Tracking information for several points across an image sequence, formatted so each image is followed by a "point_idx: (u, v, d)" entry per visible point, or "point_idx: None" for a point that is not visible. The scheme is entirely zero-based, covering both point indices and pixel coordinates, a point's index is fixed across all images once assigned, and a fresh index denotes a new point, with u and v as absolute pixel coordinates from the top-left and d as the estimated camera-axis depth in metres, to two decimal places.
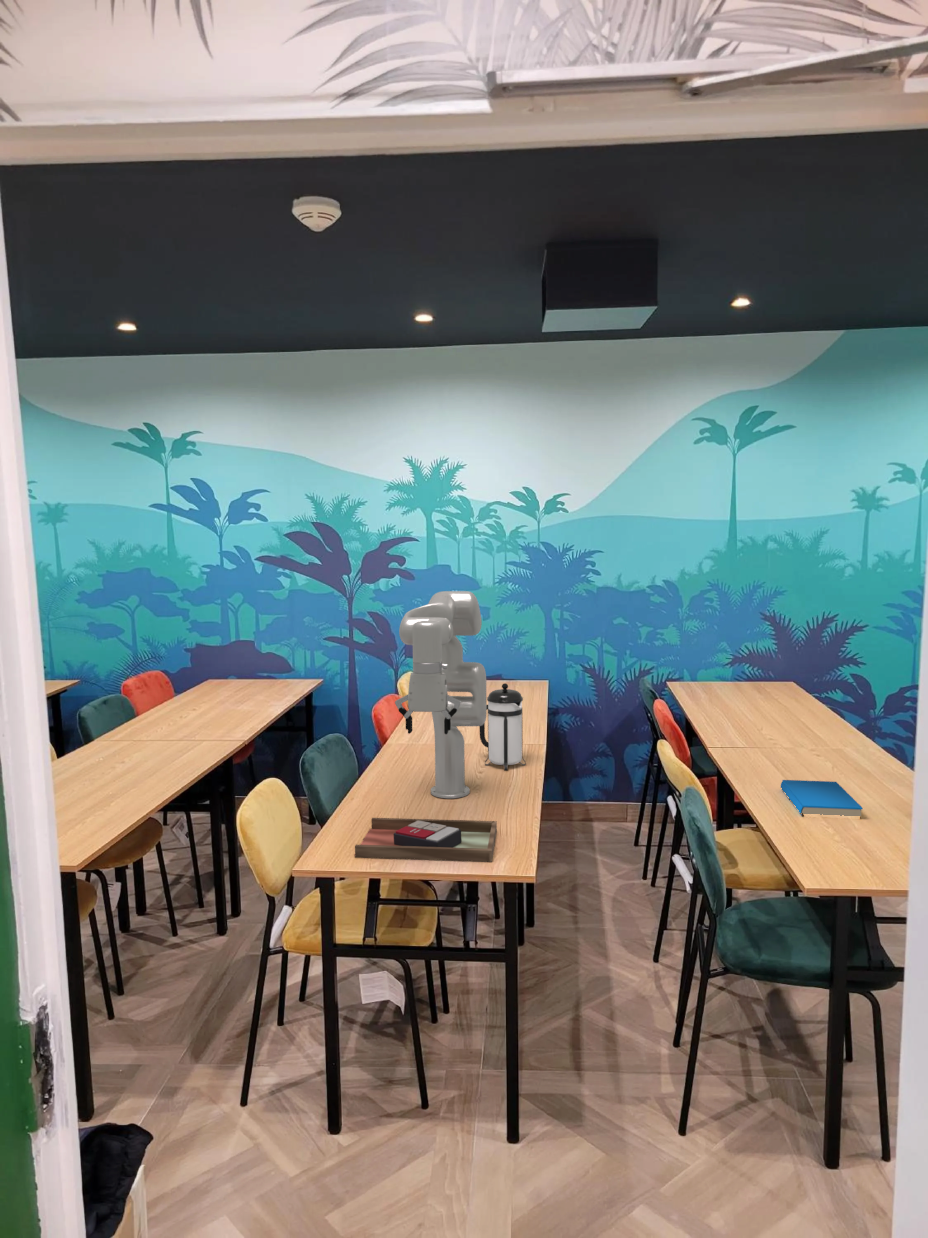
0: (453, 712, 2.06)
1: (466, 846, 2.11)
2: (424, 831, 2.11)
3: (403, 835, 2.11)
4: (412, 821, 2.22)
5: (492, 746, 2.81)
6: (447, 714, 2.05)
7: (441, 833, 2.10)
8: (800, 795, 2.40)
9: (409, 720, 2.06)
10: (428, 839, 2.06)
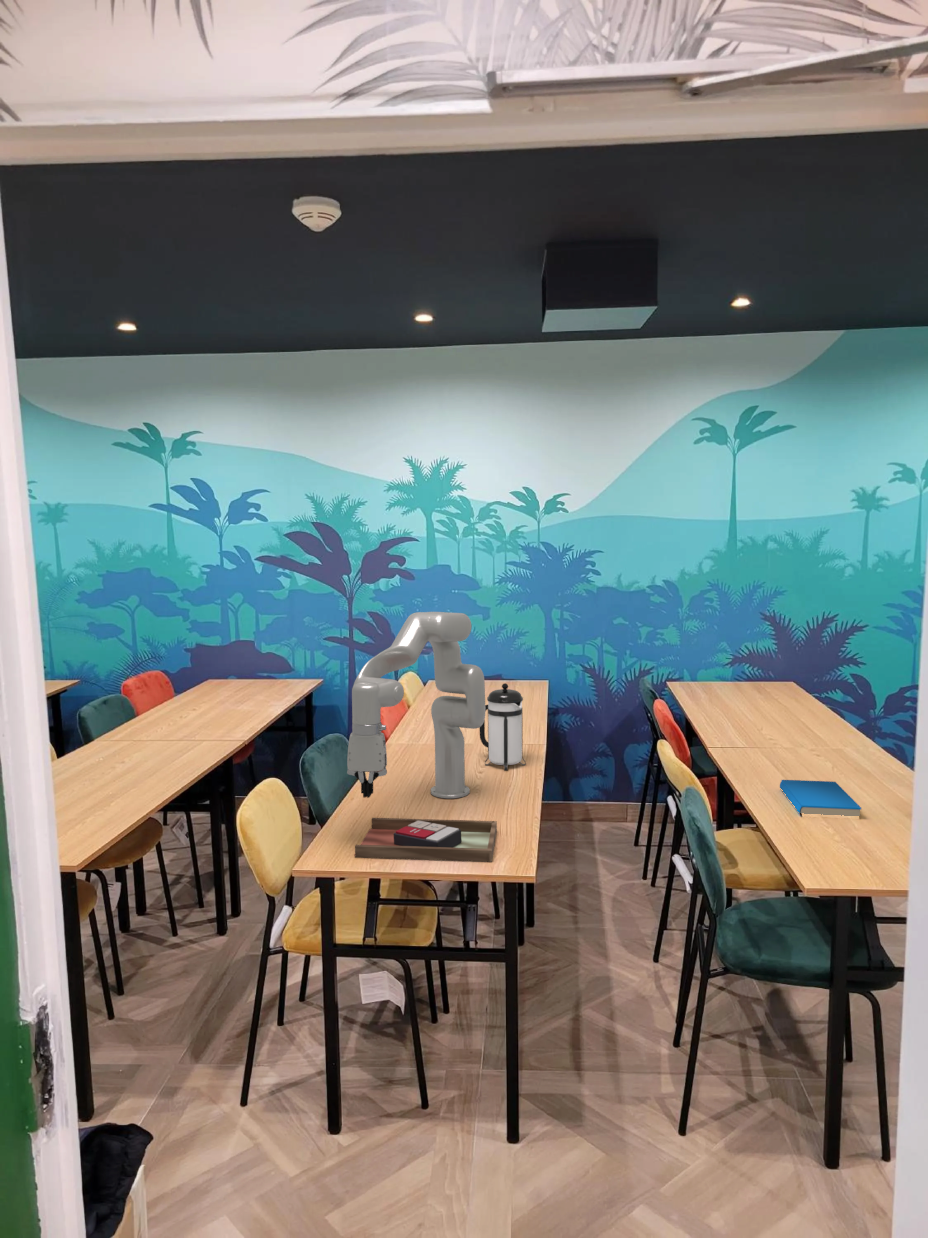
0: (375, 776, 2.11)
1: (466, 846, 2.11)
2: (424, 831, 2.11)
3: (403, 835, 2.11)
4: (412, 821, 2.22)
5: (492, 746, 2.81)
6: (371, 778, 2.11)
7: (441, 833, 2.10)
8: (799, 795, 2.40)
9: (364, 784, 2.11)
10: (428, 839, 2.06)
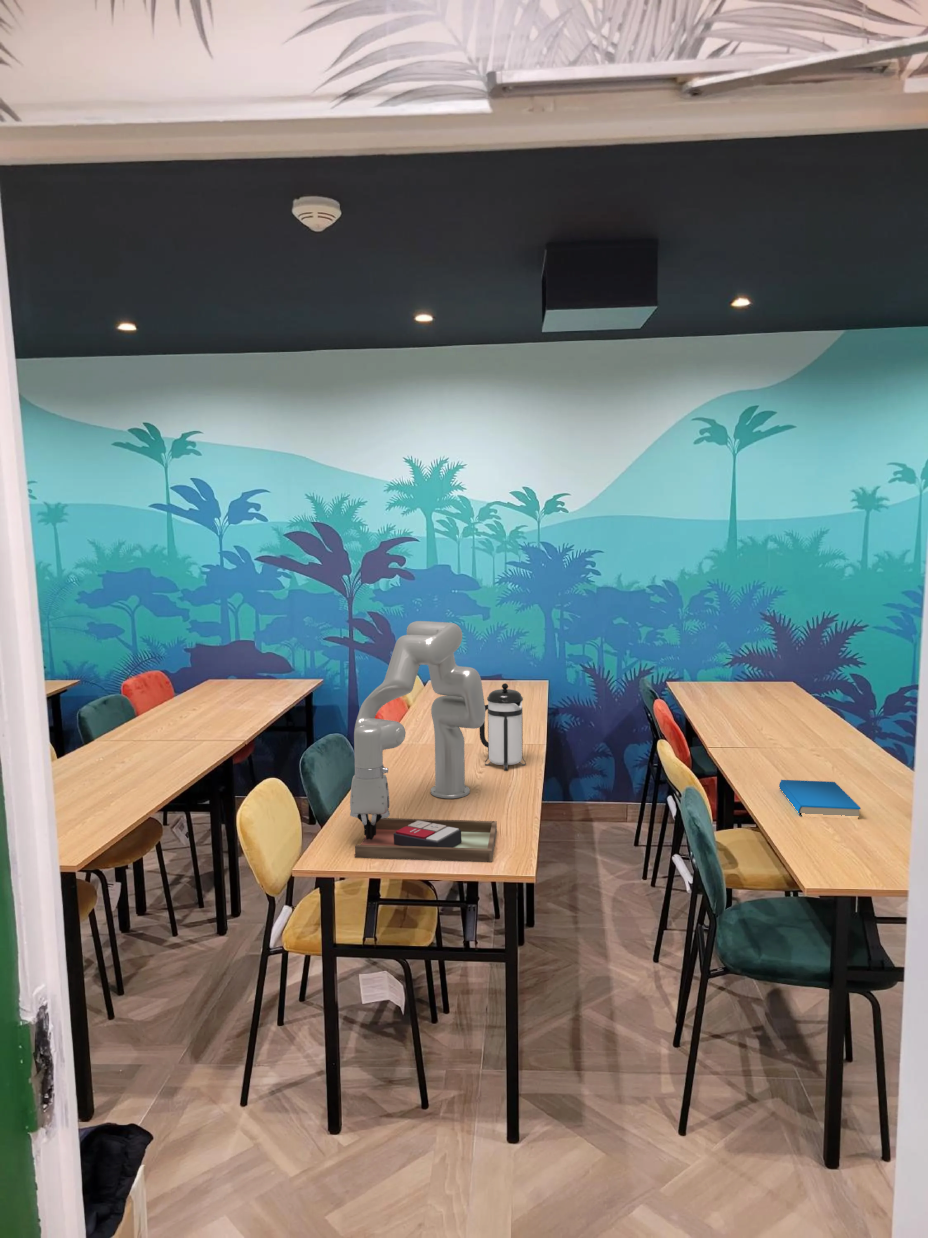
0: (378, 818, 2.13)
1: (466, 846, 2.11)
2: (424, 831, 2.11)
3: (403, 835, 2.11)
4: (412, 821, 2.22)
5: (492, 746, 2.81)
6: (374, 821, 2.12)
7: (441, 833, 2.10)
8: (798, 795, 2.40)
9: (367, 827, 2.13)
10: (428, 839, 2.06)
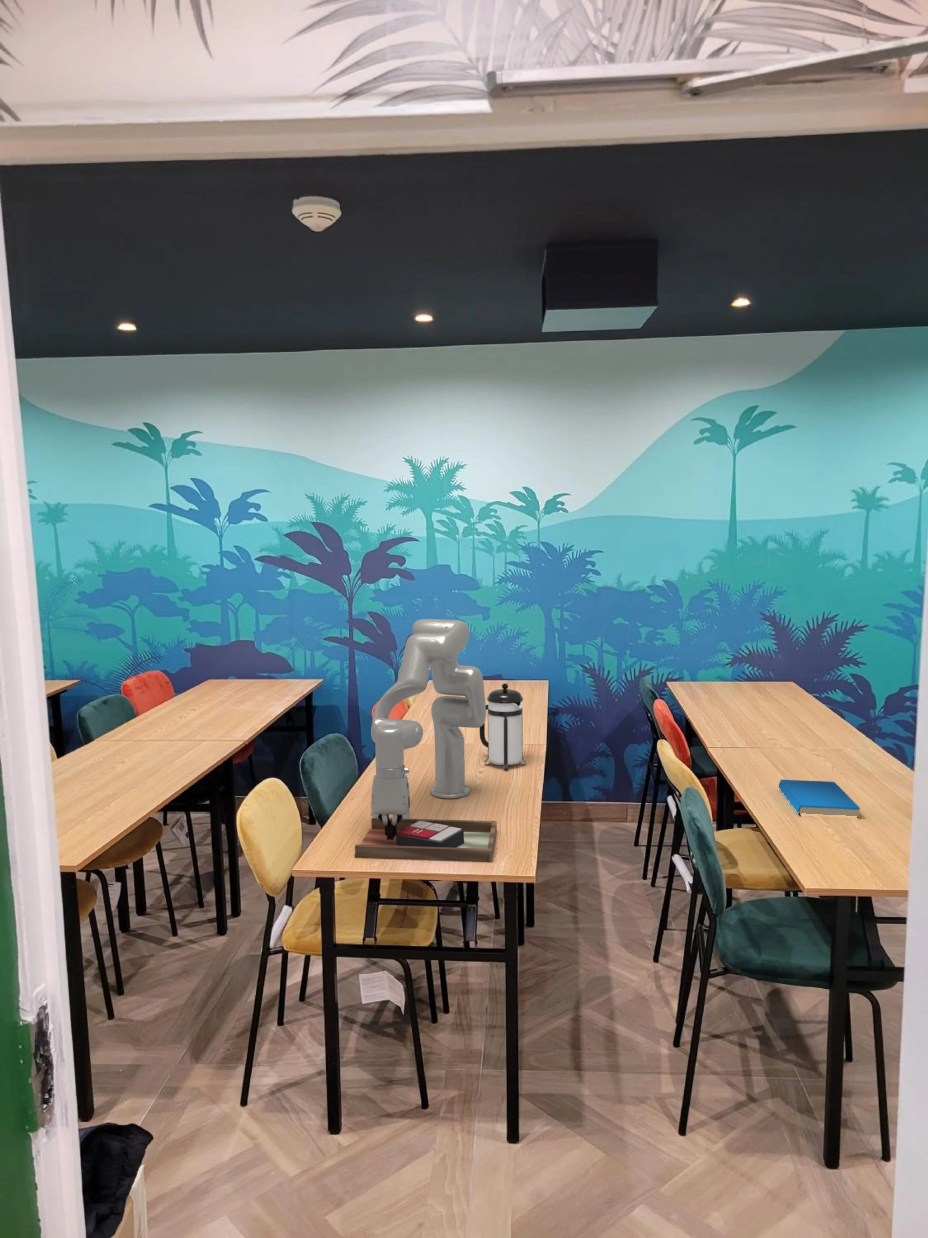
0: (399, 819, 2.12)
1: (466, 846, 2.11)
2: (426, 831, 2.11)
3: (406, 835, 2.10)
4: (412, 821, 2.22)
5: (492, 746, 2.81)
6: (395, 821, 2.12)
7: (444, 833, 2.09)
8: (798, 795, 2.40)
9: (388, 827, 2.12)
10: (431, 839, 2.06)
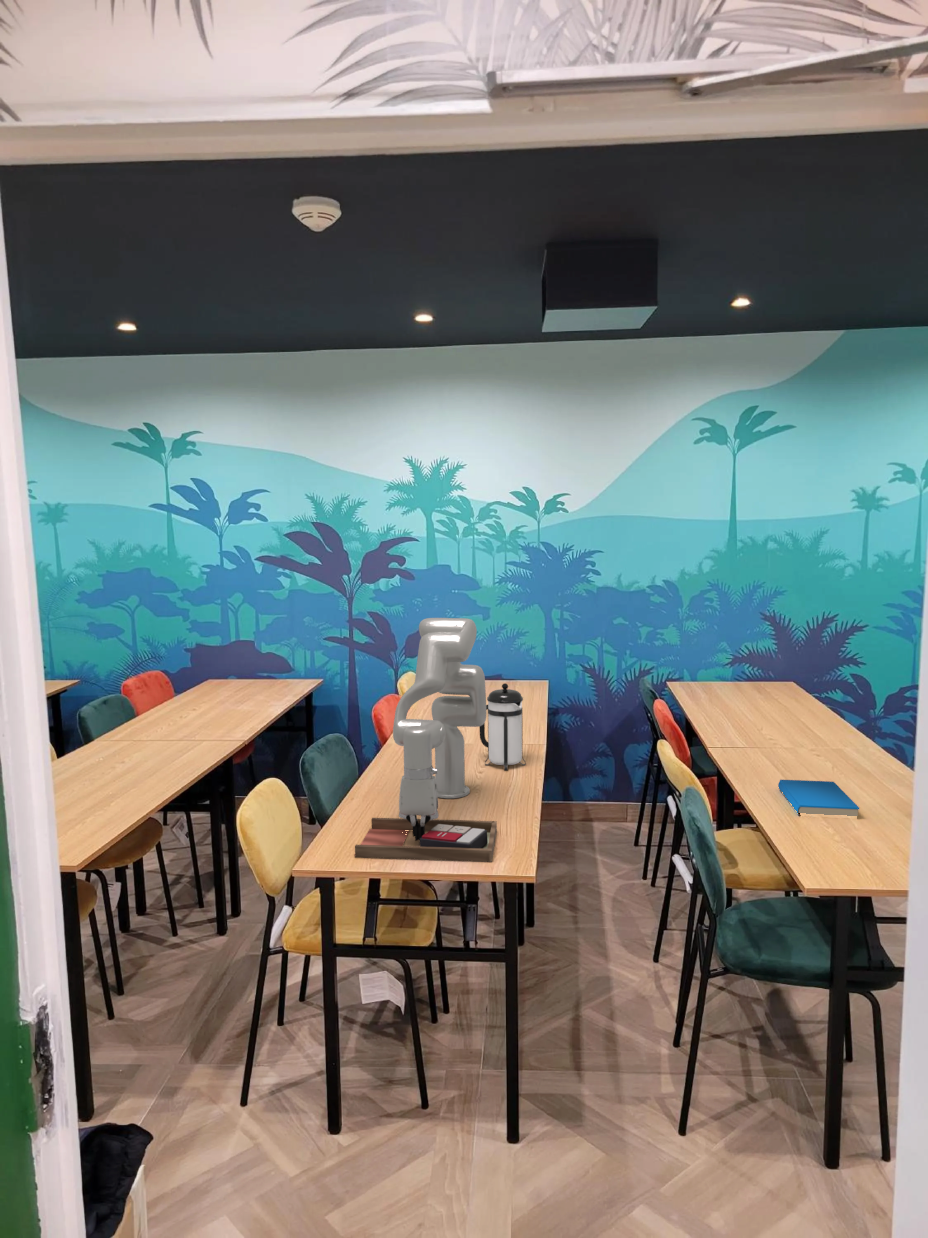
0: (427, 820, 2.11)
1: None
2: (451, 834, 2.09)
3: (431, 839, 2.07)
4: None
5: (492, 746, 2.81)
6: (423, 822, 2.11)
7: (469, 835, 2.08)
8: (797, 795, 2.40)
9: (416, 828, 2.11)
10: (459, 842, 2.04)
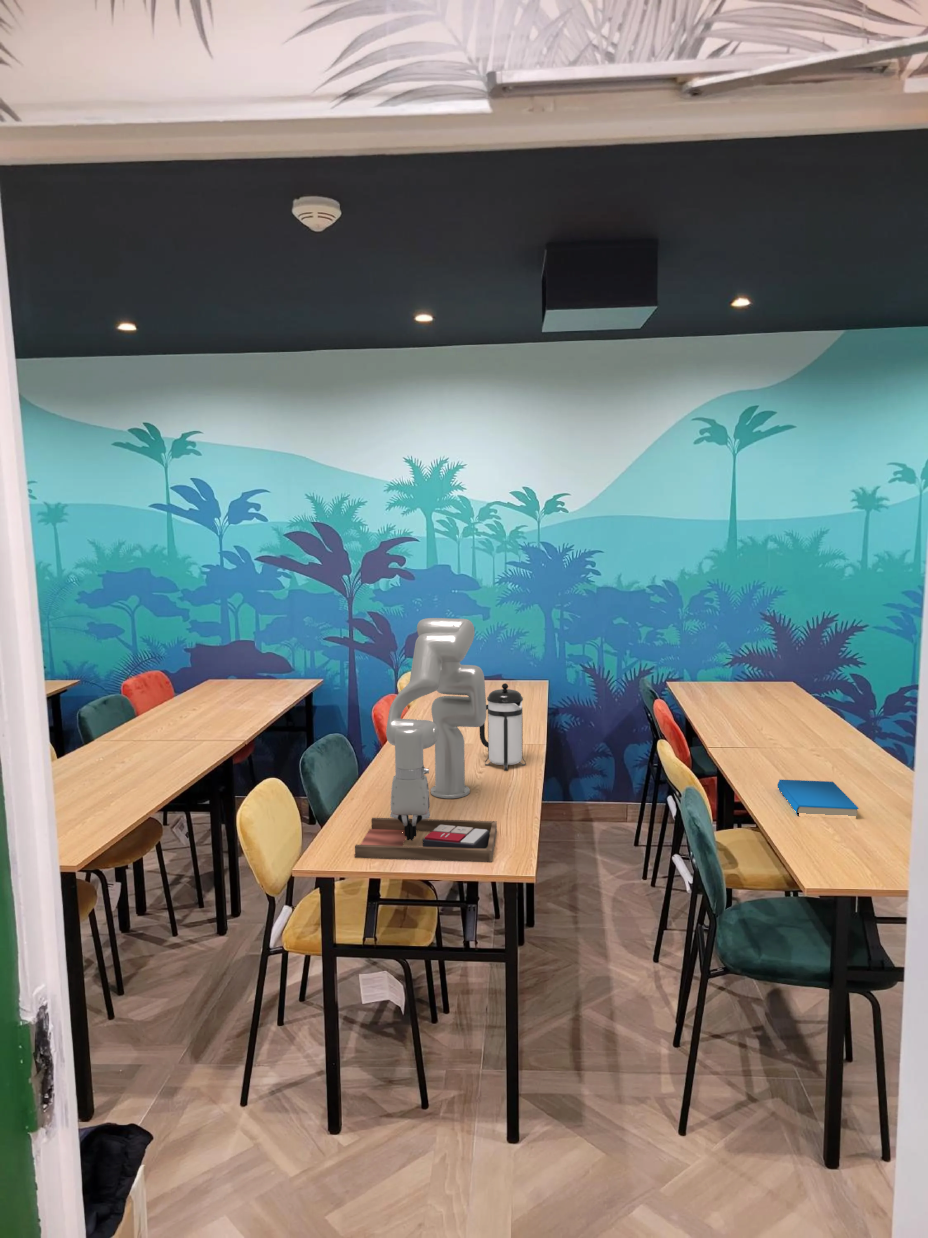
0: (418, 819, 2.12)
1: None
2: (454, 835, 2.09)
3: (434, 840, 2.07)
4: None
5: (492, 746, 2.81)
6: (415, 822, 2.11)
7: (473, 835, 2.08)
8: (796, 795, 2.40)
9: (408, 828, 2.11)
10: (463, 842, 2.04)
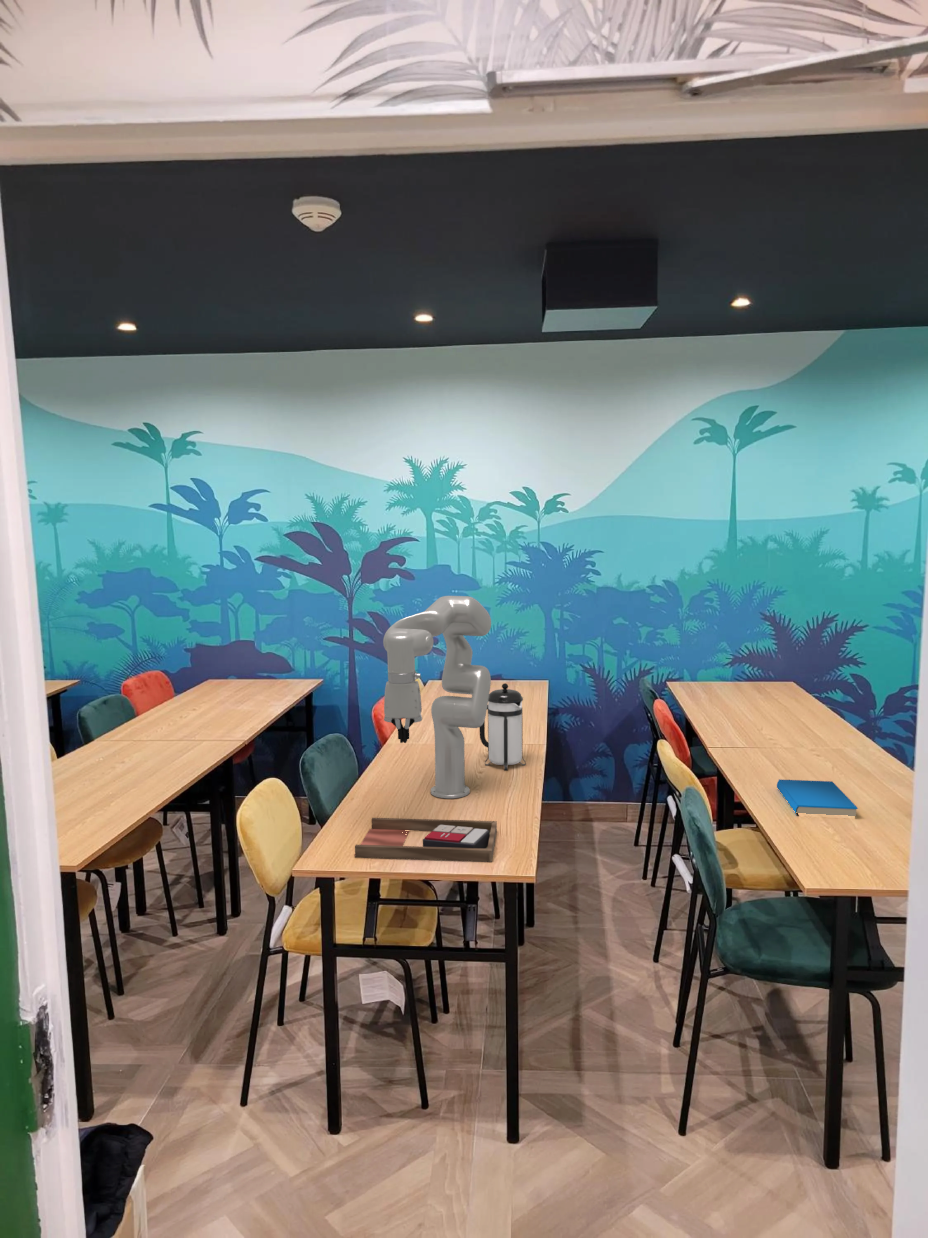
0: (411, 722, 2.21)
1: None
2: (454, 835, 2.09)
3: (434, 840, 2.07)
4: (412, 821, 2.22)
5: (492, 746, 2.81)
6: (407, 725, 2.20)
7: (473, 835, 2.08)
8: (795, 795, 2.40)
9: (401, 731, 2.20)
10: (463, 842, 2.04)
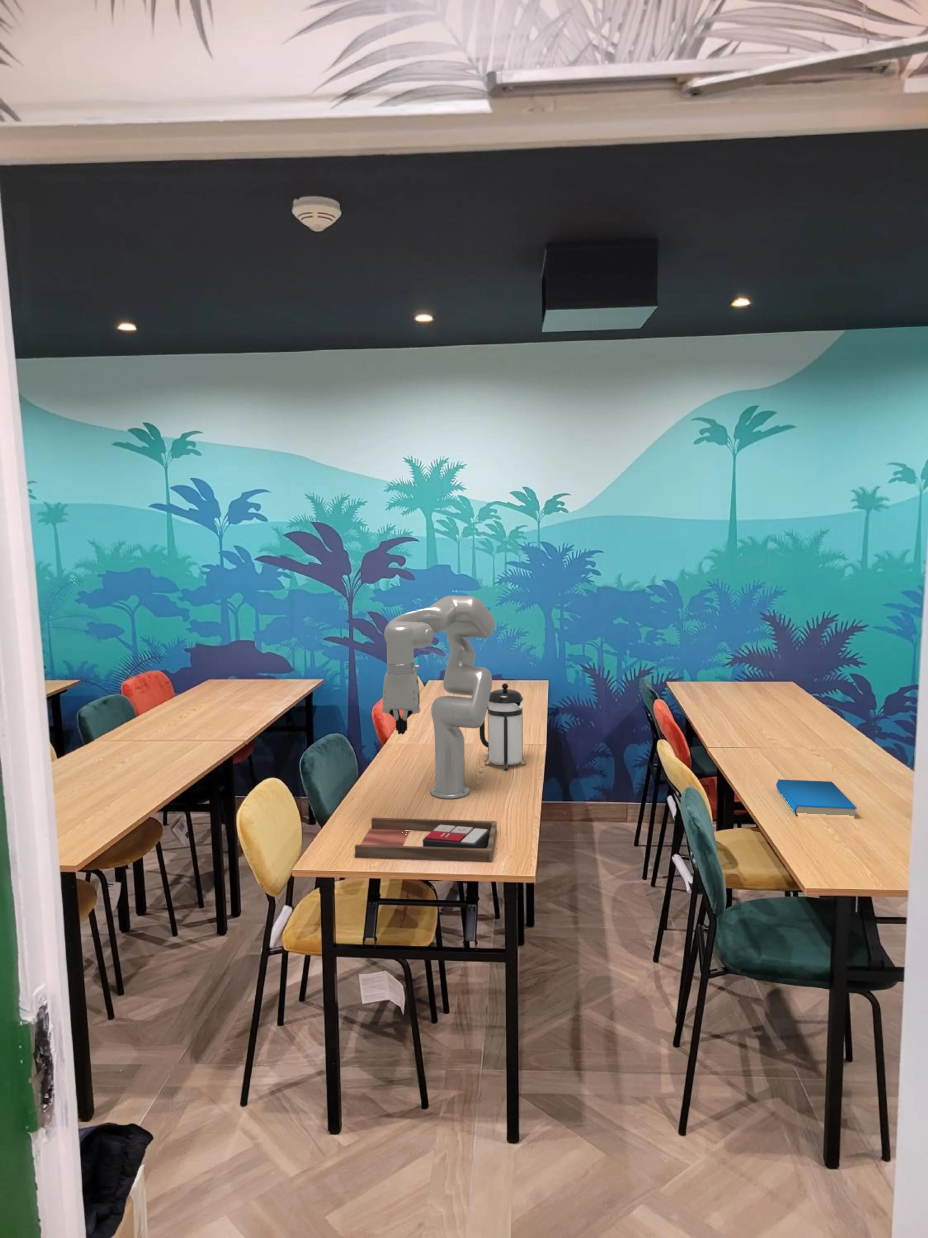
0: (409, 714, 2.22)
1: None
2: (454, 835, 2.09)
3: (434, 840, 2.07)
4: (412, 821, 2.22)
5: (492, 746, 2.81)
6: (405, 716, 2.22)
7: (473, 835, 2.08)
8: (795, 794, 2.40)
9: (399, 722, 2.22)
10: (463, 842, 2.04)
